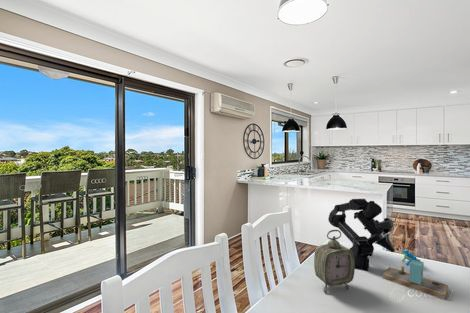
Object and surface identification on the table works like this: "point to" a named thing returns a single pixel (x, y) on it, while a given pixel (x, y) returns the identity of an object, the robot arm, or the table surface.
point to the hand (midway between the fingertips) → (393, 251)
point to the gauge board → (426, 285)
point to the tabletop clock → (334, 263)
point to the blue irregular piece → (409, 257)
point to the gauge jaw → (416, 271)
